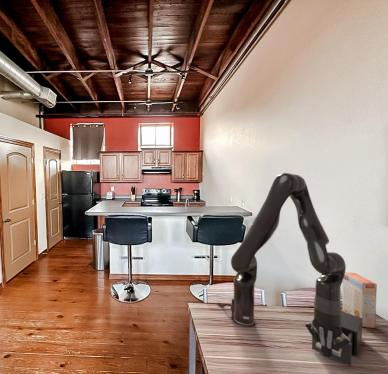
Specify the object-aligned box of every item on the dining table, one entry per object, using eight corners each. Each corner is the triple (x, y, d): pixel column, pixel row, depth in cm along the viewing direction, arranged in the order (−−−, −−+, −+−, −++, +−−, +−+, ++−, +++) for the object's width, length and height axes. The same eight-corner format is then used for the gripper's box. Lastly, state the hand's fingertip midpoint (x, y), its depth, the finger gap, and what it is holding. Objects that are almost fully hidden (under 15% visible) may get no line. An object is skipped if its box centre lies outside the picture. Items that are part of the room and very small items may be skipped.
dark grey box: (356, 356, 89) (357, 332, 89) (316, 339, 99) (316, 317, 99) (361, 340, 99) (362, 318, 98) (324, 326, 108) (324, 306, 108)
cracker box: (376, 329, 106) (377, 283, 106) (361, 327, 108) (362, 282, 107) (354, 312, 120) (355, 272, 120) (341, 311, 121) (342, 271, 121)
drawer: (348, 373, 80) (348, 351, 80) (308, 354, 89) (308, 334, 89) (356, 349, 92) (356, 329, 92) (320, 334, 101) (320, 317, 101)
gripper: (354, 312, 80) (353, 361, 81) (308, 298, 91) (307, 342, 91) (350, 320, 76) (349, 373, 76) (302, 304, 86) (301, 350, 86)
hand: (326, 356), depth 83 cm, fingers closed
